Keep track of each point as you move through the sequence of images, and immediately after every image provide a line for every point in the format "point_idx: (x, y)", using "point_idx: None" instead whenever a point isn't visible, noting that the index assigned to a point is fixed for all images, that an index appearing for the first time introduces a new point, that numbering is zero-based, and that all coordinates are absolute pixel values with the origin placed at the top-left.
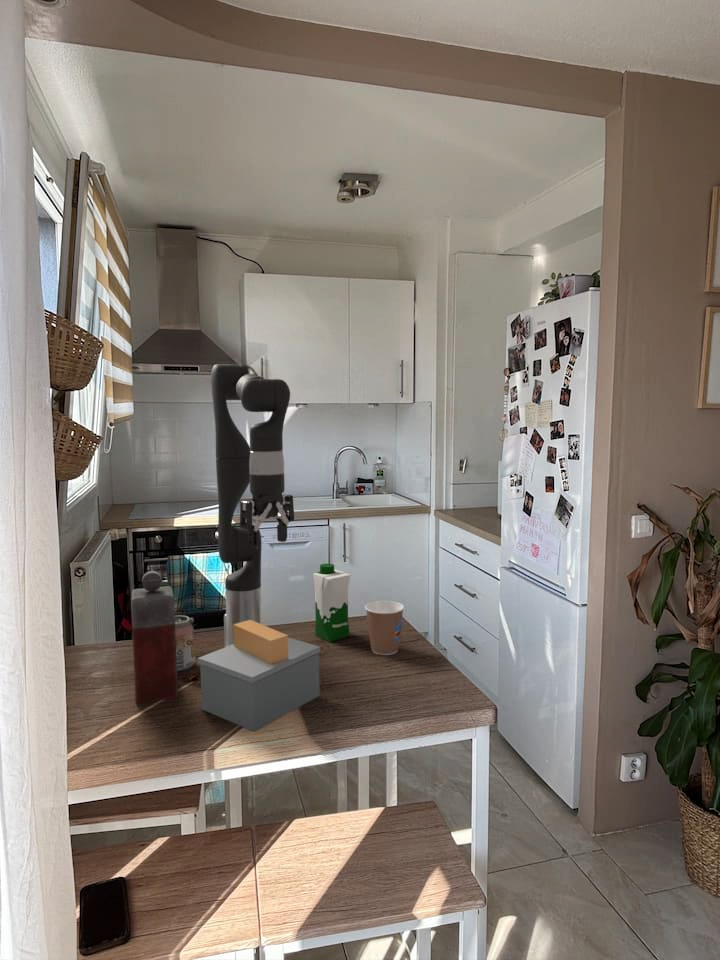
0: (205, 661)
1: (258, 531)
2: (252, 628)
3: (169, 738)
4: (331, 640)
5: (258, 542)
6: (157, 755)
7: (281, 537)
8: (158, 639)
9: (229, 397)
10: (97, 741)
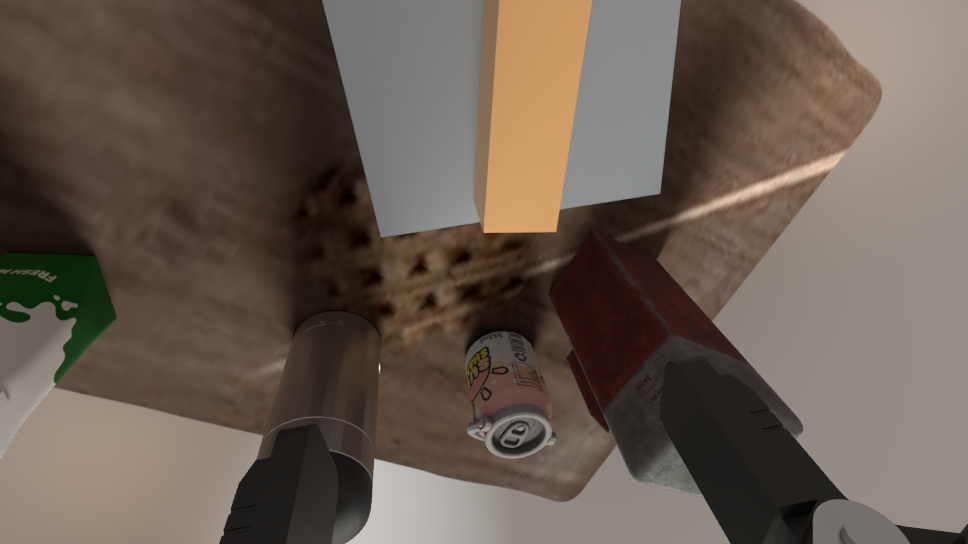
0: (663, 160)
1: (776, 505)
2: (541, 148)
3: (730, 73)
4: (87, 257)
5: (701, 393)
6: (794, 22)
7: (319, 478)
8: (686, 322)
9: None
10: (796, 168)
